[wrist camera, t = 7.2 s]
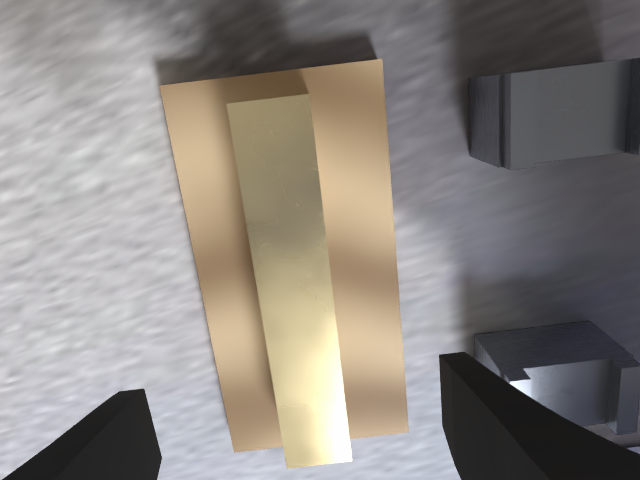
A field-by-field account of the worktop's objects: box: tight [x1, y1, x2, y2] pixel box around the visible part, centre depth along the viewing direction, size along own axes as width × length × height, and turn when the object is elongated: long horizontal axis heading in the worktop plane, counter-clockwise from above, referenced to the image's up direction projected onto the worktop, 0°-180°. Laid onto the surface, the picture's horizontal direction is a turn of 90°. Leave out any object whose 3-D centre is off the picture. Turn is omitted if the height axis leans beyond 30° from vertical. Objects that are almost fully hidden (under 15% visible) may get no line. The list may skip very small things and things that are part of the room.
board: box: [160, 59, 409, 452], centre depth 20 cm, size 16×8×1 cm, turn 7°
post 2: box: [474, 321, 640, 435], centre depth 20 cm, size 3×5×4 cm, turn 97°
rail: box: [227, 94, 352, 469], centre depth 18 cm, size 14×3×3 cm, turn 7°
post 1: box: [469, 58, 640, 170], centre depth 17 cm, size 3×5×4 cm, turn 97°
